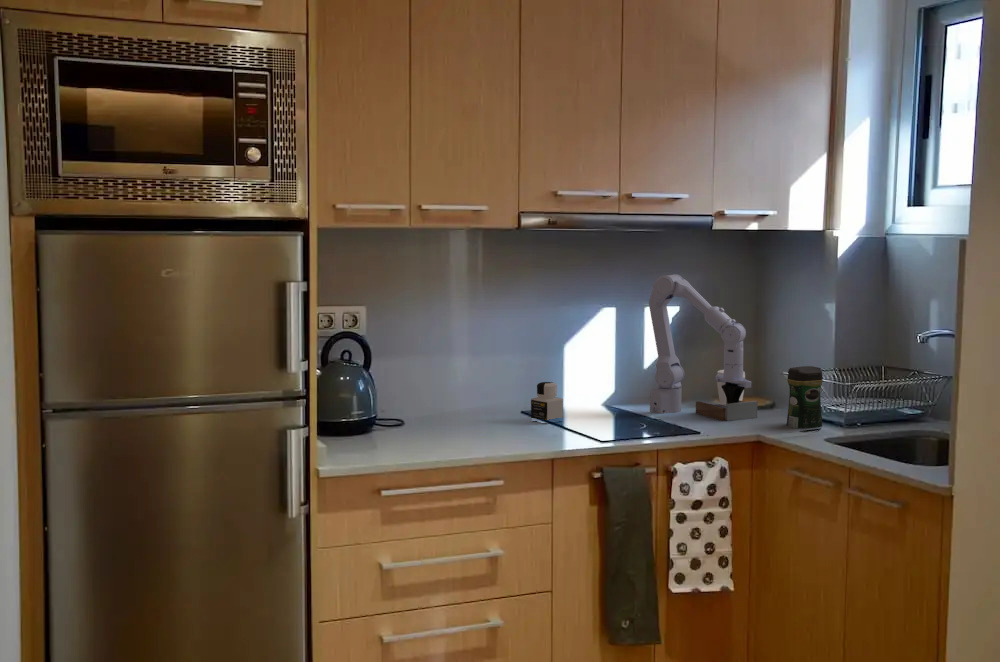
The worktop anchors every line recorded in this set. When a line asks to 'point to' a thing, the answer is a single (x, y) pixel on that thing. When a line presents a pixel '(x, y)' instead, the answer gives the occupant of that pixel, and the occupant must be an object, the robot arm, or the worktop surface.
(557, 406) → the medicine bottle
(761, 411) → the worktop surface
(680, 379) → the robot arm
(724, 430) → the worktop surface
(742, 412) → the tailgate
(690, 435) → the worktop surface
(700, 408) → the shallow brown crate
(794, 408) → the coffee jar
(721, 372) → the cup
